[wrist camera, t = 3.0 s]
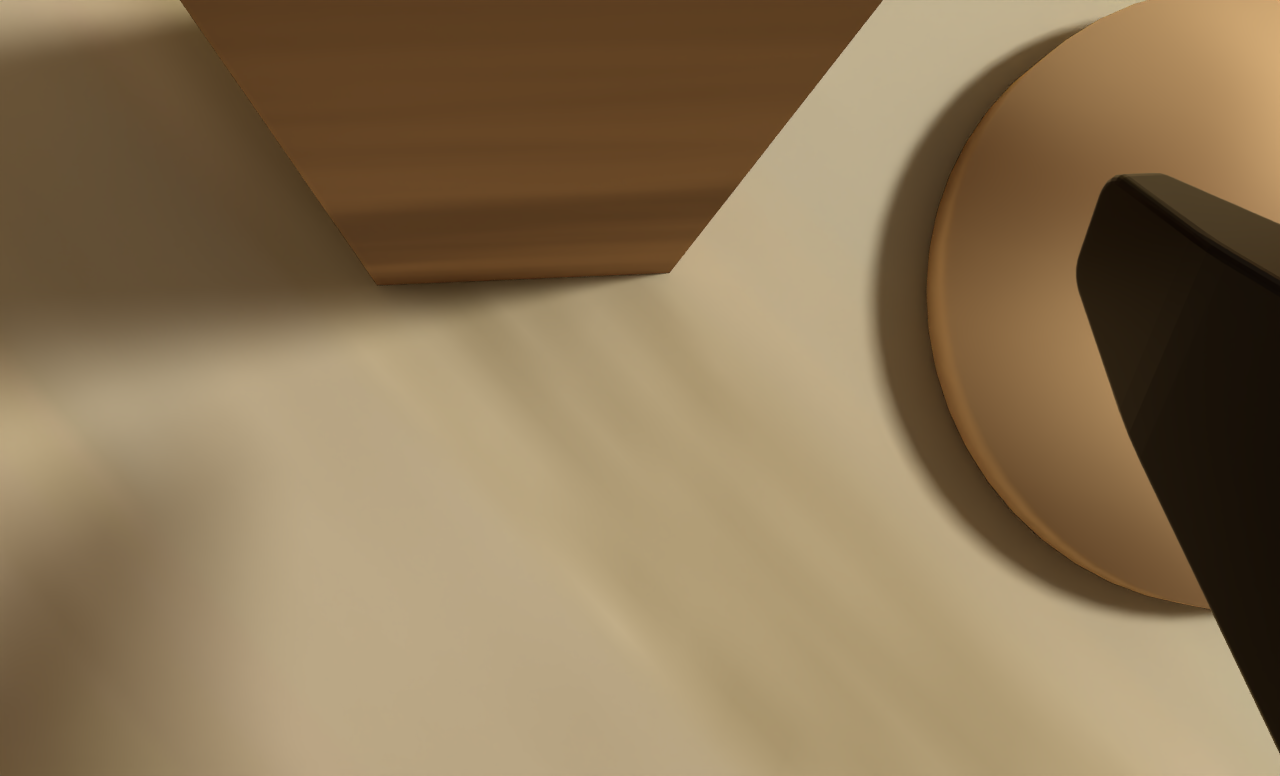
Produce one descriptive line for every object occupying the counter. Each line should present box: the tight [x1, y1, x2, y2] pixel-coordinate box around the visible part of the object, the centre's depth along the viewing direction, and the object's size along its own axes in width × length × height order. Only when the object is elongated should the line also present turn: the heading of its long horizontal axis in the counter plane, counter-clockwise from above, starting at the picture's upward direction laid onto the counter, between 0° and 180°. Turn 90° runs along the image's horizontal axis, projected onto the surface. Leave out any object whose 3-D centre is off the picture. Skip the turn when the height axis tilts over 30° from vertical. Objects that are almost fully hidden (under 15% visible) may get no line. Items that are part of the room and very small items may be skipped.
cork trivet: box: [926, 0, 1280, 609], centre depth 21 cm, size 11×11×1 cm
